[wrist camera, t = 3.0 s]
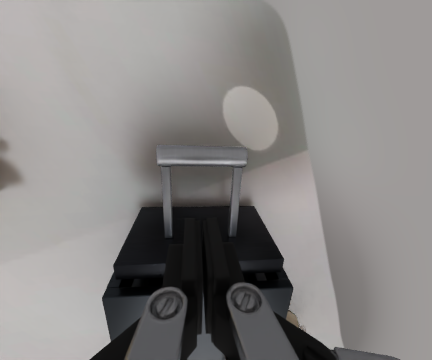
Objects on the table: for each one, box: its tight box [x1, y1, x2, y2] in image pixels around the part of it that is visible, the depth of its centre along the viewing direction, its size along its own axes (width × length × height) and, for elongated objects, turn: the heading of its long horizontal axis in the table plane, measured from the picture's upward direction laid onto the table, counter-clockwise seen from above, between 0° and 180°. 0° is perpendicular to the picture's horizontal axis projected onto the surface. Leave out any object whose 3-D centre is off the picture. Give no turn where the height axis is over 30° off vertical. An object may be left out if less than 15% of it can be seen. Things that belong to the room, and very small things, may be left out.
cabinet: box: [102, 267, 293, 360], centre depth 21 cm, size 17×13×10 cm
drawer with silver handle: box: [113, 145, 284, 287], centre depth 19 cm, size 23×11×8 cm, turn 177°
